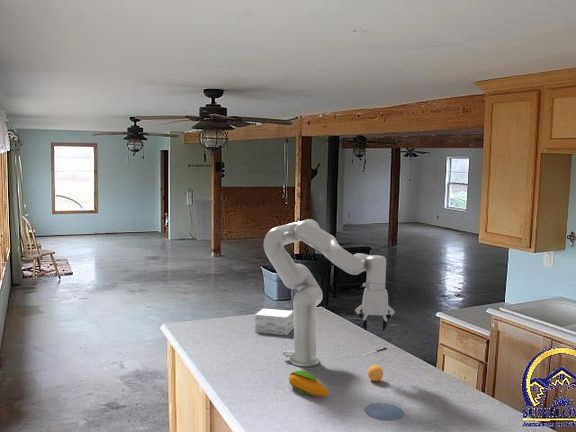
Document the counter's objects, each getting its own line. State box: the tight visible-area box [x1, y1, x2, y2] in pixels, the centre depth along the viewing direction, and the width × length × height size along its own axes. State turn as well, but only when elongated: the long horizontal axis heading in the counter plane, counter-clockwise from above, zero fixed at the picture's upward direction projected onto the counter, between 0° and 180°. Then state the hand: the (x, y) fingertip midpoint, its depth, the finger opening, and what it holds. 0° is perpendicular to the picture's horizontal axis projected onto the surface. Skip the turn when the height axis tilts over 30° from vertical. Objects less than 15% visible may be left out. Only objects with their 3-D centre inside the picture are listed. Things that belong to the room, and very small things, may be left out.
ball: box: [367, 364, 384, 382], centre depth 213 cm, size 6×6×6 cm
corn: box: [288, 370, 329, 398], centre depth 200 cm, size 7×8×20 cm
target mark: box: [364, 402, 404, 421], centre depth 187 cm, size 13×13×1 cm
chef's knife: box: [361, 347, 388, 357], centre depth 247 cm, size 19×1×3 cm
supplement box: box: [254, 308, 294, 336], centre depth 277 cm, size 17×13×9 cm
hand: (374, 329), depth 221 cm, fingers open, 6 cm apart
